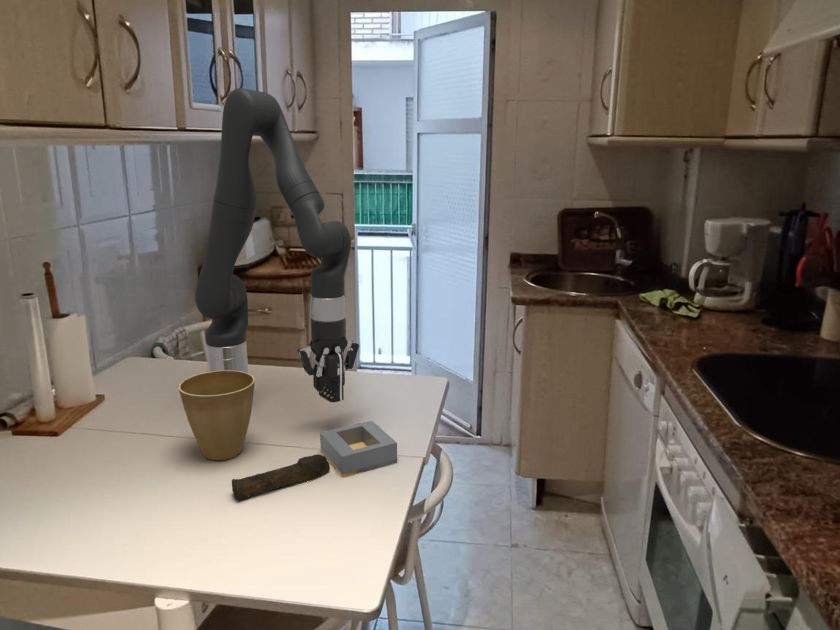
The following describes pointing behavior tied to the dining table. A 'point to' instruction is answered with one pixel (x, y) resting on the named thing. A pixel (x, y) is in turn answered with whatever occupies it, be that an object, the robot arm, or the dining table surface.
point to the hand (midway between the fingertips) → (329, 388)
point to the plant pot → (219, 410)
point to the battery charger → (333, 377)
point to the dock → (358, 448)
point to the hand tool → (281, 476)
